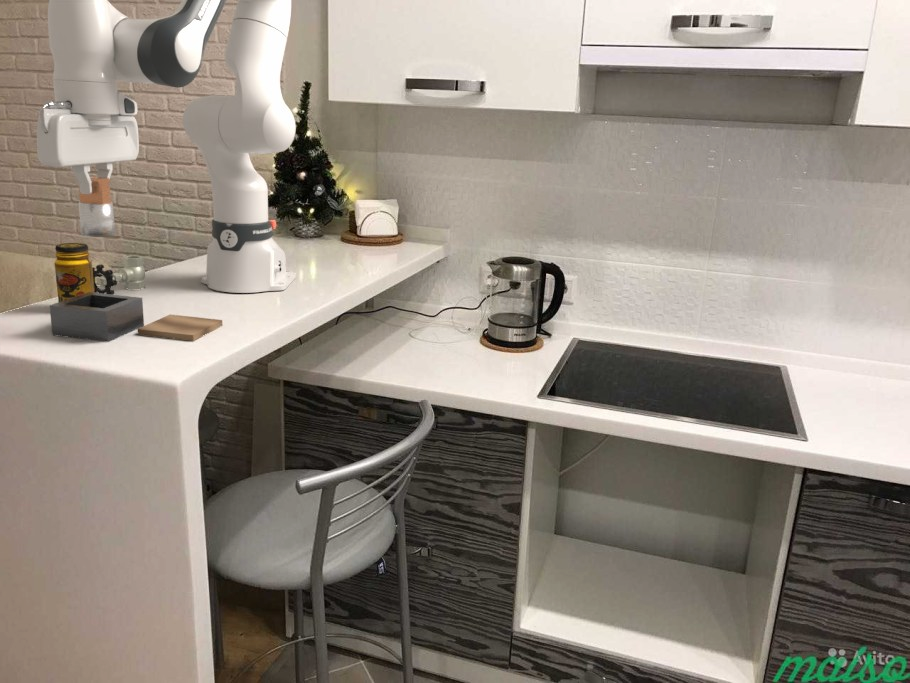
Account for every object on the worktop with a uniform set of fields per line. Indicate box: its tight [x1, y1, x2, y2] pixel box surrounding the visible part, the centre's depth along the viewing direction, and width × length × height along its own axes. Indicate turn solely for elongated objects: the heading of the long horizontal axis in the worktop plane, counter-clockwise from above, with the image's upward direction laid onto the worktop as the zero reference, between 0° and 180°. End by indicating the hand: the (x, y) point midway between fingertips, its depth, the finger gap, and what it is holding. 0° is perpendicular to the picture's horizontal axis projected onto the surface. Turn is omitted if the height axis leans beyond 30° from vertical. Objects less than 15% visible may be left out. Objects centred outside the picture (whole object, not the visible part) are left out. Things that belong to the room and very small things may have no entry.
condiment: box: [54, 242, 95, 303], centre depth 137 cm, size 7×8×12 cm
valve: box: [92, 255, 146, 295], centre depth 151 cm, size 7×7×12 cm
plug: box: [78, 175, 116, 238], centre depth 121 cm, size 5×5×9 cm
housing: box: [49, 292, 145, 343], centre depth 126 cm, size 10×10×5 cm
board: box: [137, 314, 223, 342], centre depth 129 cm, size 10×10×1 cm
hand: (95, 192), depth 120 cm, fingers closed on plug
